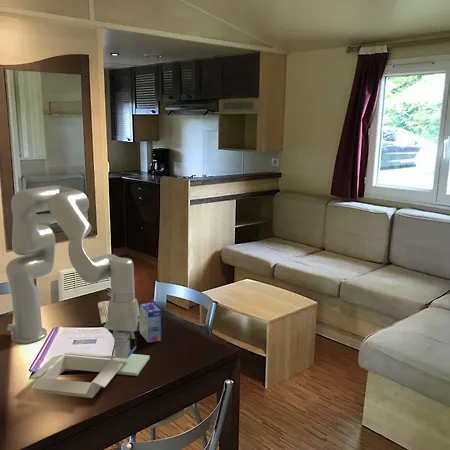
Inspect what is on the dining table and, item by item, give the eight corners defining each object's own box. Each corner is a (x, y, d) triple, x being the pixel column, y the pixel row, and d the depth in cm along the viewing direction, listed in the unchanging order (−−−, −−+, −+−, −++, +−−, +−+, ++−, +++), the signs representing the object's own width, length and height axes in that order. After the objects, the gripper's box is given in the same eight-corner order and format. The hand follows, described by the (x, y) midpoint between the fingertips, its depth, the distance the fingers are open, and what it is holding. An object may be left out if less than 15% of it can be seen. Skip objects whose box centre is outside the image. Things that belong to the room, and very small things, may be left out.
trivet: (102, 372, 156) (102, 369, 156) (117, 355, 167) (116, 352, 167) (137, 375, 154) (137, 372, 154) (149, 358, 165) (149, 355, 165)
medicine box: (127, 359, 155) (126, 334, 154) (114, 357, 156) (113, 333, 154) (136, 348, 163) (135, 324, 161) (124, 347, 164) (123, 323, 162)
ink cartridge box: (162, 340, 178) (161, 304, 175) (148, 343, 176) (146, 307, 173) (153, 330, 187) (152, 296, 184) (140, 333, 185) (138, 298, 182)
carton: (20, 398, 141) (19, 382, 140) (60, 361, 163) (59, 347, 162) (99, 407, 137) (98, 390, 136) (128, 367, 159) (128, 353, 158)
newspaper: (116, 324, 195) (116, 320, 194) (98, 326, 193) (98, 322, 192) (111, 304, 217) (111, 300, 216) (95, 305, 215) (95, 302, 214)
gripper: (93, 298, 153) (97, 350, 157) (143, 301, 150) (146, 354, 154) (103, 290, 161) (106, 340, 164) (151, 293, 157) (153, 344, 161)
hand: (125, 346), depth 159 cm, fingers closed on medicine box, 4 cm apart
